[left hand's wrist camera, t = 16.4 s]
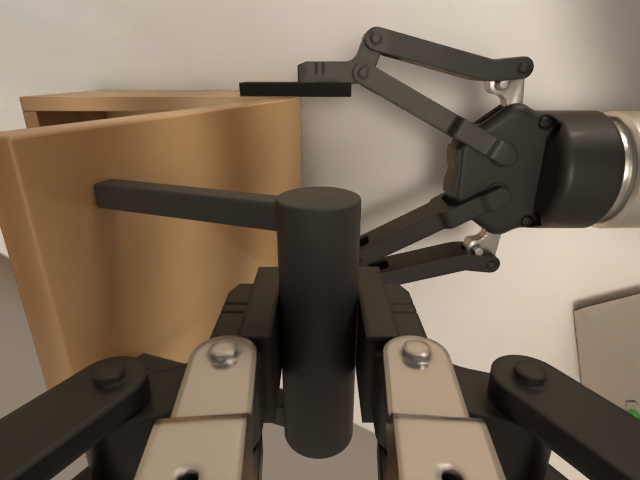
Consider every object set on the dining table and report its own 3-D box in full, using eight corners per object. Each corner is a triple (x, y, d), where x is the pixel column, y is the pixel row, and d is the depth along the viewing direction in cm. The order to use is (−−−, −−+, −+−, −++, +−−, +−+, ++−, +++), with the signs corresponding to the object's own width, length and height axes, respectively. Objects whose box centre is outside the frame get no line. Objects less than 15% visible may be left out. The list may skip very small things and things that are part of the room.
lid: (63, 450, 13) (324, 550, 10) (-29, 134, 10) (326, 159, 7) (286, 252, 27) (419, 272, 24) (281, 97, 24) (436, 100, 21)
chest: (118, 208, 36) (56, 249, 28) (96, 90, 33) (18, 96, 24) (301, 208, 36) (295, 249, 28) (299, 90, 33) (292, 97, 24)
